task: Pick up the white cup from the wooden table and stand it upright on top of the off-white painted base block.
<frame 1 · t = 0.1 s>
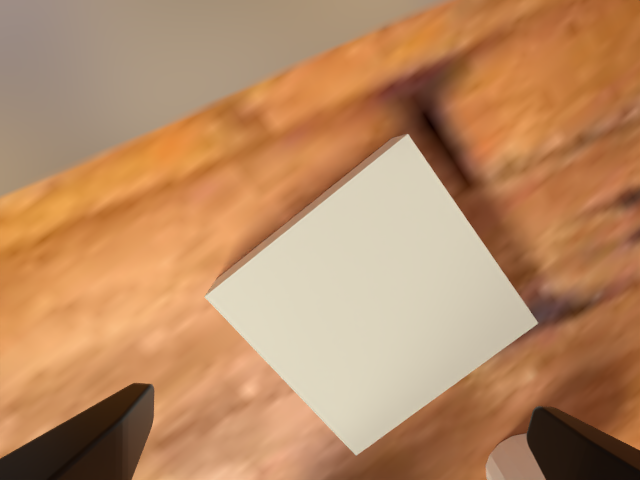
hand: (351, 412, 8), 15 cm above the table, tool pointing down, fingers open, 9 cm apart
base block: (368, 292, 23), on the table
white cup: (518, 462, 27), on the table
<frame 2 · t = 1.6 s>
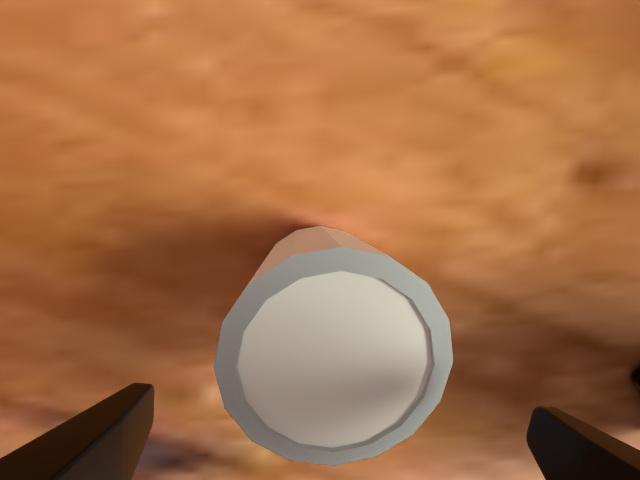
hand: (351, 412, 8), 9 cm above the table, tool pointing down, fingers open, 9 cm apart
white cup: (318, 282, 17), on the table
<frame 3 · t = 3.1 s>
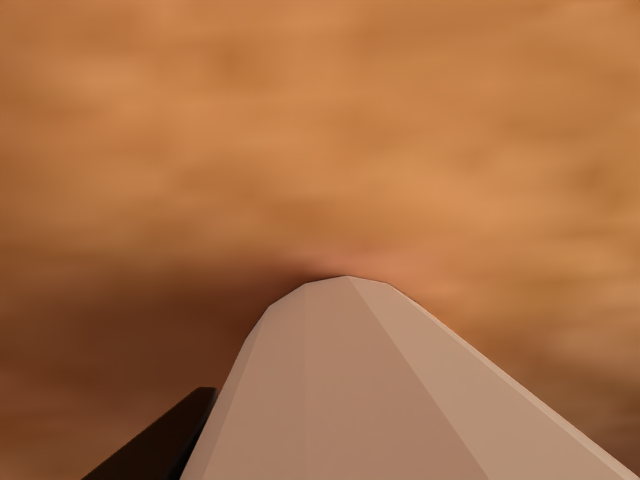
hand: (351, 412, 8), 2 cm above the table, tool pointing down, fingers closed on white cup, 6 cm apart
white cup: (341, 369, 10), on the table, touching gripper
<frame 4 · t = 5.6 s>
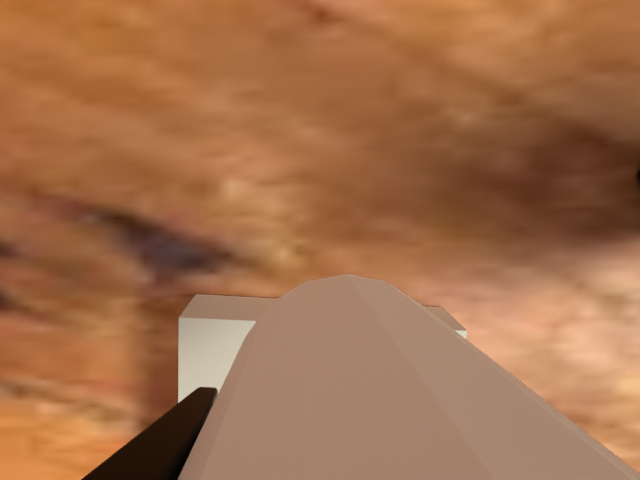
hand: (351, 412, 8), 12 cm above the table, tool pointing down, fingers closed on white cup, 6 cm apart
base block: (312, 409, 21), on the table
white cup: (341, 367, 10), point 10 cm above the table, touching gripper
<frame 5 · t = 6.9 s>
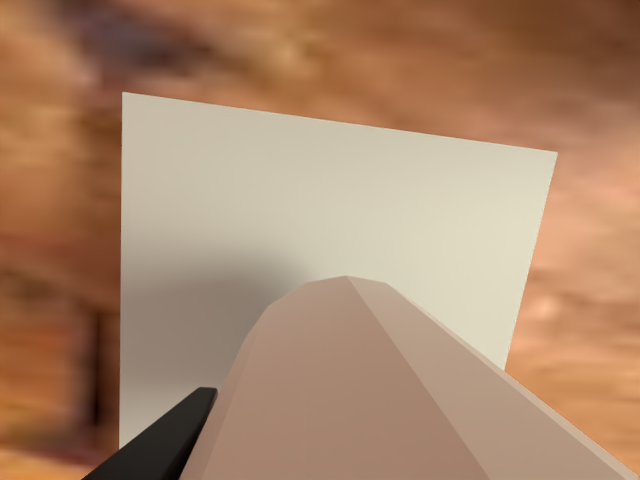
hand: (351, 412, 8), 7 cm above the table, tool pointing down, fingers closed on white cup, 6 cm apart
base block: (320, 297, 15), on the table
white cup: (340, 369, 10), point 6 cm above the table, touching gripper
when the fingers open (6 cm above the table, at t = 8.0 s): white cup drops 1 cm, resting on base block.
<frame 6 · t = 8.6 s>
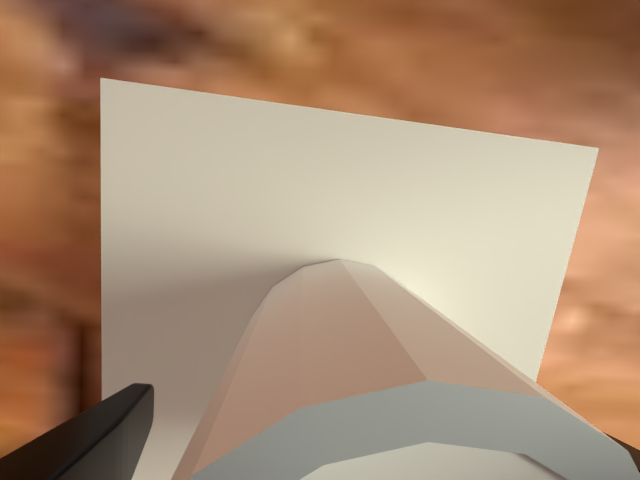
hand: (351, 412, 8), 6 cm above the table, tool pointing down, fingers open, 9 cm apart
base block: (326, 309, 14), on the table
white cup: (336, 342, 11), point 3 cm above the table, touching base block
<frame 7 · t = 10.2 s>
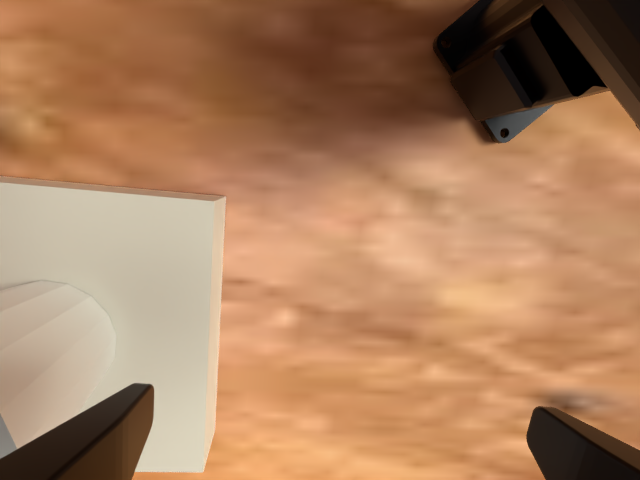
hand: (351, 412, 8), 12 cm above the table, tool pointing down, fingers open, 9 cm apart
base block: (87, 313, 19), on the table
white cup: (54, 337, 16), point 3 cm above the table, touching base block
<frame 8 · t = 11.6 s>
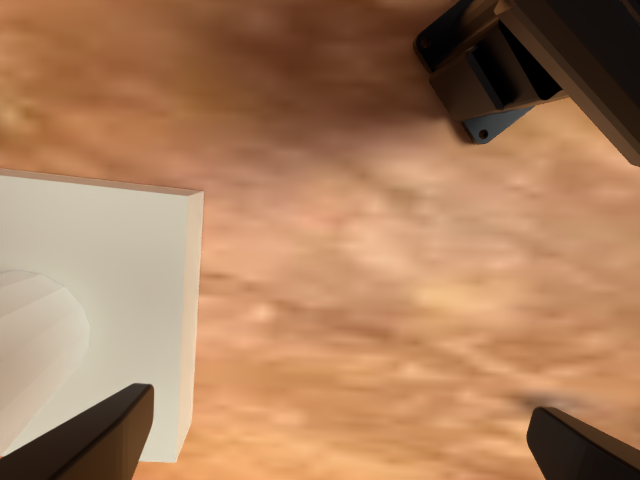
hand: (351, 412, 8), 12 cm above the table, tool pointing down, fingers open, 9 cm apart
base block: (66, 304, 19), on the table
white cup: (30, 326, 16), point 3 cm above the table, touching base block
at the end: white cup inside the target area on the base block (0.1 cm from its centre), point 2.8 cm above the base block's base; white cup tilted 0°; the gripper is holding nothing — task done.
